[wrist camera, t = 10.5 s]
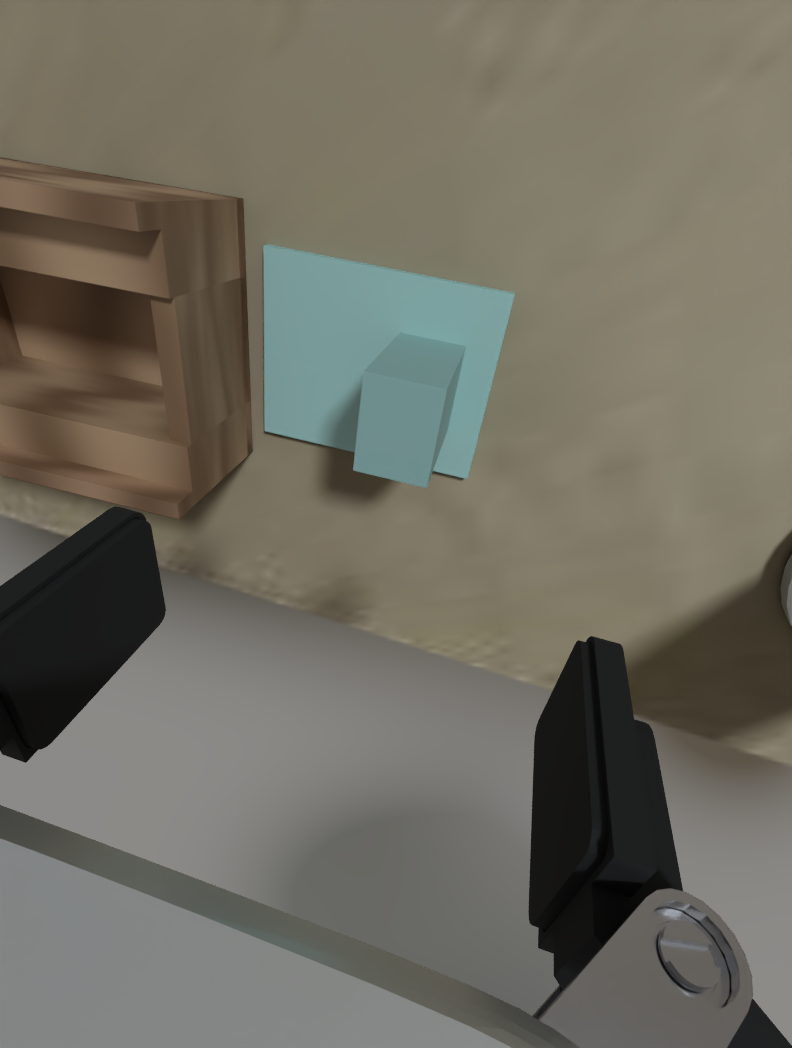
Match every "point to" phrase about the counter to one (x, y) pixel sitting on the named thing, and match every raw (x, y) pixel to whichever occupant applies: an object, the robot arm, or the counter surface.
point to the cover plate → (356, 332)
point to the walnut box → (121, 337)
